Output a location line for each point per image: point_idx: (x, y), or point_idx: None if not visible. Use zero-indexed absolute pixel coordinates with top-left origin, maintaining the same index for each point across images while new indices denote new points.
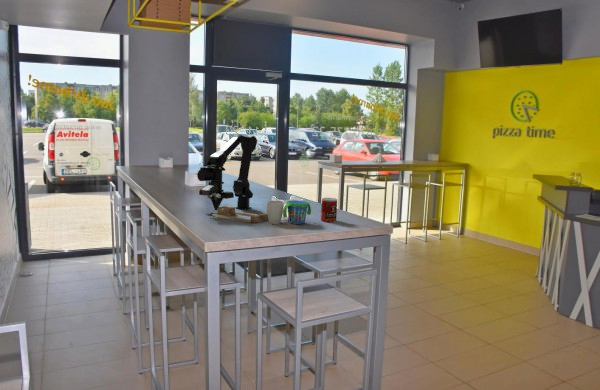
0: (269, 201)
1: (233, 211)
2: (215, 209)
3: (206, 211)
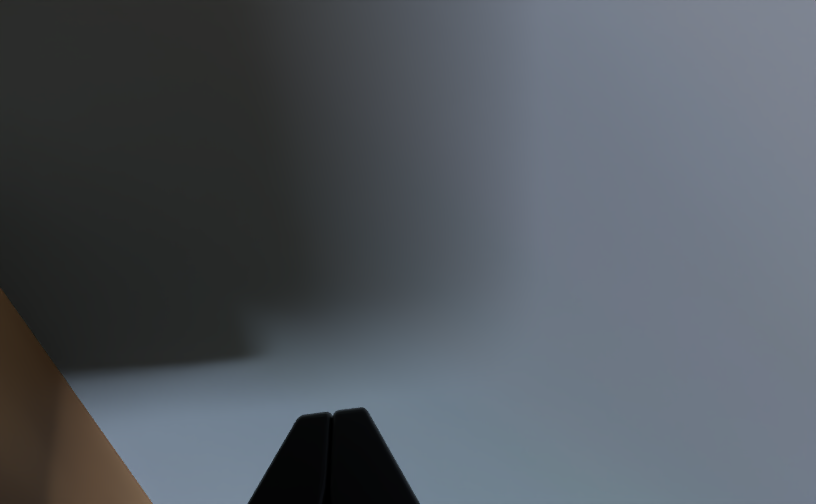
0: None
1: None
2: (319, 430)
3: (787, 296)
